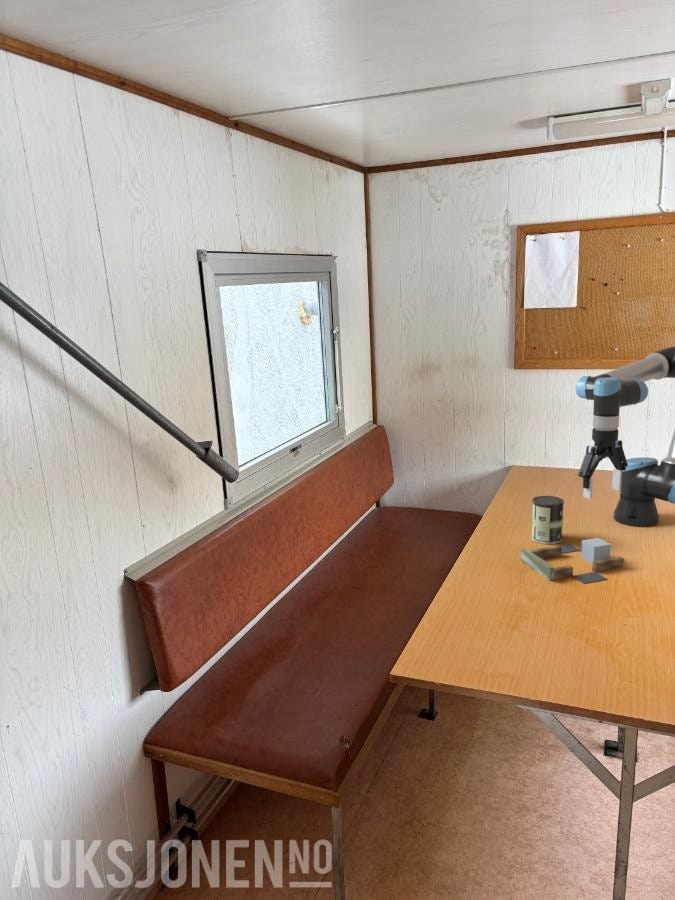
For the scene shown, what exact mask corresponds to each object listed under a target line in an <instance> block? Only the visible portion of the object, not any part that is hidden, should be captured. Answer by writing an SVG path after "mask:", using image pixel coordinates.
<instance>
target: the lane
mask: <svg viewBox="0 0 675 900" xmlns="http://www.w3.org/2000/svg"><path fill="white" fill-rule="evenodd" d="M579 544H580V545H579V550H580V551H579V552H580V553H582V541H580V543H579ZM562 554H563V553H562V547H561V545H556V546H555V545H554V546H549V547H547V546H546V547H542V548H535V549H527V548H521V549H520V561H521V563H524V564H525V565H526V566H528V567H529V568H531V569H532V570H533V571H535V572H536V573H538V574H540V575H541V576H542V577H543V578H545V579H546V580H548V581H554V580H559V579H566V578H570V577H571V578H572V577H573V576H574V575H573V574H574V566H572V565H564V566H558V567H555V566H553V565H551V564H550V563H548V562H547V561H545V560H546V559H550V558H556V557H562ZM544 559H545V560H544ZM624 561H625V559H624V557H623V556H616V557H610V558H609V559H603V560H597V561H593V564H592V569H591V570H592V572H597V573H600V572H604V571H605V572H606V571H610V570H616V569H617V570H618V569H622V568H624Z"/></svg>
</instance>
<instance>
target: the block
mask: <svg viewBox="0 0 675 900" xmlns="http://www.w3.org/2000/svg"><path fill="white" fill-rule="evenodd" d="M581 542H582V552H581V559H583V560H585V561H586V562H588V563H590V564H591V565H593V561H597V560H603V559H609V558H611V549H612V548H611V547H612V544H611V543H609V542H608V541H605V540H603V539H601V538H600V537H595V538H589V539H583V540H581Z"/></svg>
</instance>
